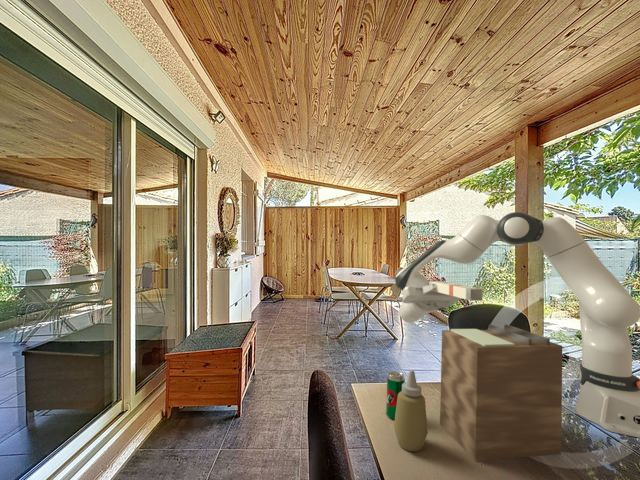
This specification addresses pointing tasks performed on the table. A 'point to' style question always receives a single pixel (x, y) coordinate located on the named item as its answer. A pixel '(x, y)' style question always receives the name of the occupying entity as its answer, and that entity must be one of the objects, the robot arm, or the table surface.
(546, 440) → the cabinet
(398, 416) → the squeeze bottle
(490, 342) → the plate
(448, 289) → the red-banded cream beam
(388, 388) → the soda can
